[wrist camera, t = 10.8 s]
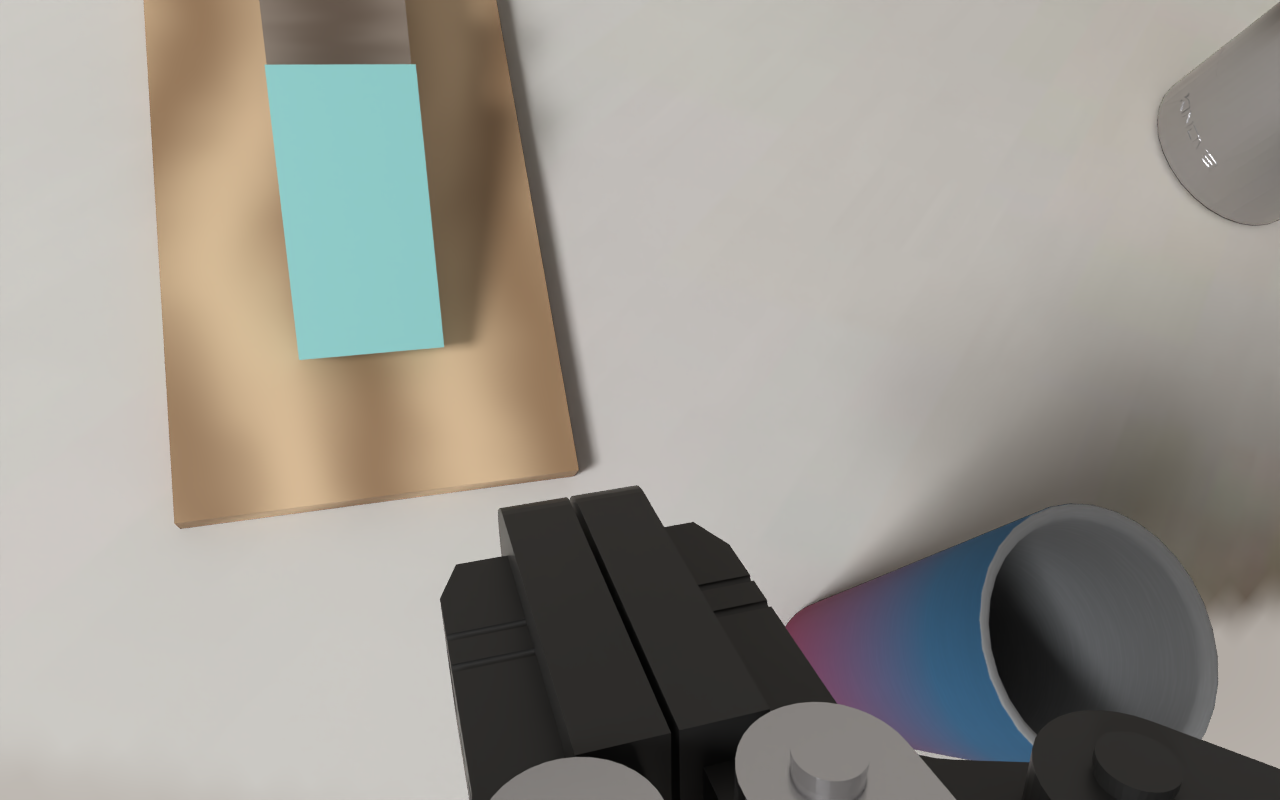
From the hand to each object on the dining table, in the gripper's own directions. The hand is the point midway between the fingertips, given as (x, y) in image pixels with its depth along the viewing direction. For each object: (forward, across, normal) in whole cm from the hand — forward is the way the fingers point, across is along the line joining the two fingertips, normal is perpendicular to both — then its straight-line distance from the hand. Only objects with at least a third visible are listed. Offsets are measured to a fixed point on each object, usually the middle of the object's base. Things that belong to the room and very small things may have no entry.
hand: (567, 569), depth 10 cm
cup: (+18, -14, +19) cm, 30 cm away
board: (+31, +2, +2) cm, 31 cm away
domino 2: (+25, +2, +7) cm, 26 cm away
